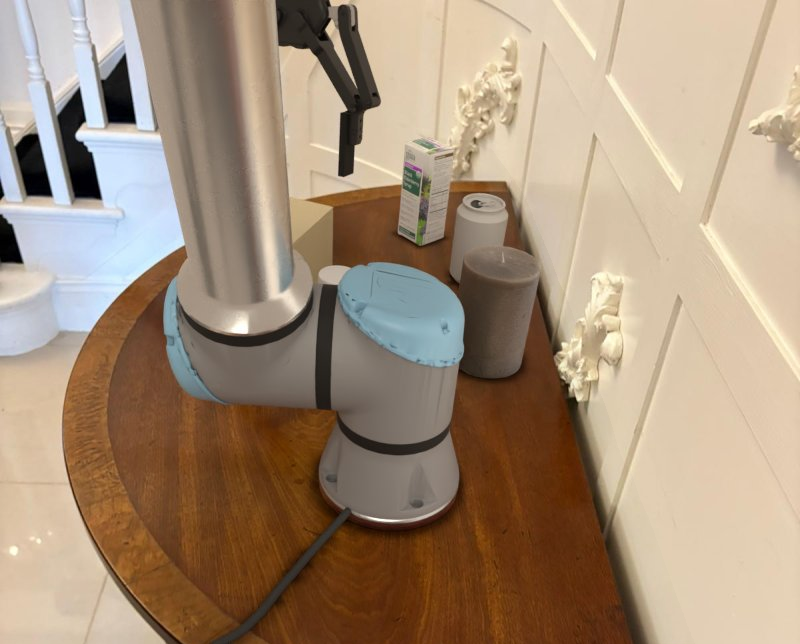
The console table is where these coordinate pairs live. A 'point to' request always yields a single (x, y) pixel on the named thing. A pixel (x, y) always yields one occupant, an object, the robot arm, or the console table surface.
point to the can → (477, 227)
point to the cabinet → (312, 233)
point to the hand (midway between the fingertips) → (293, 165)
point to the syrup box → (425, 190)
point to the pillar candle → (496, 308)
